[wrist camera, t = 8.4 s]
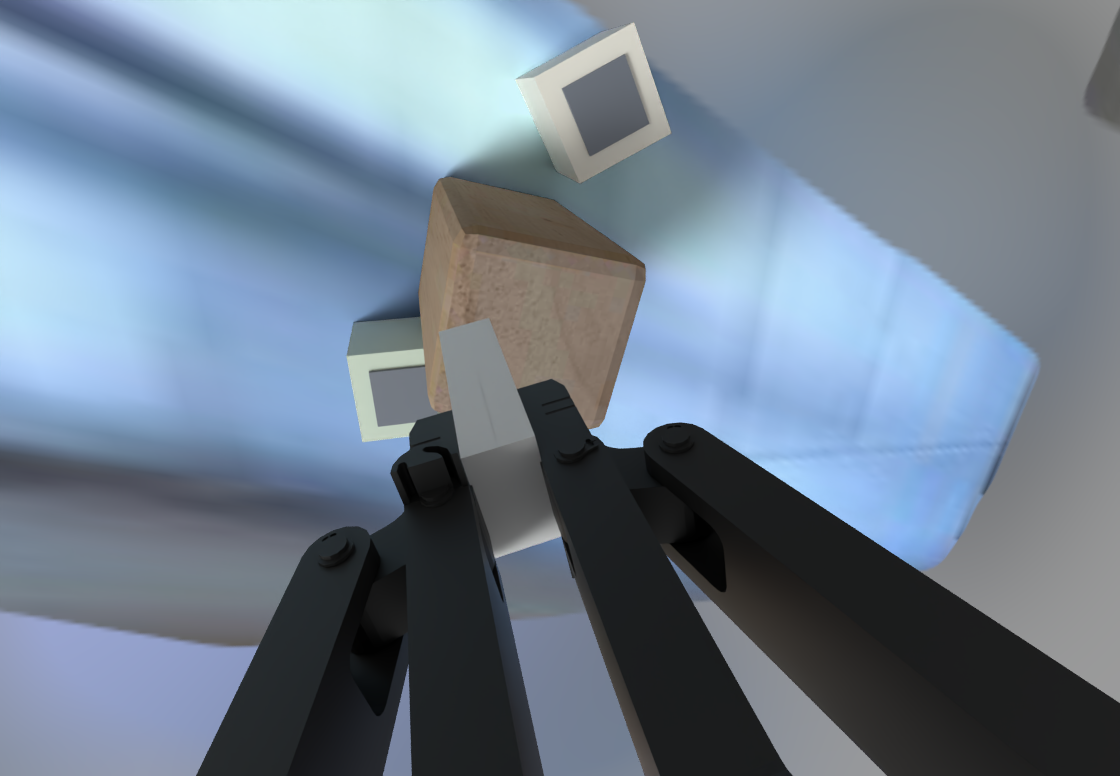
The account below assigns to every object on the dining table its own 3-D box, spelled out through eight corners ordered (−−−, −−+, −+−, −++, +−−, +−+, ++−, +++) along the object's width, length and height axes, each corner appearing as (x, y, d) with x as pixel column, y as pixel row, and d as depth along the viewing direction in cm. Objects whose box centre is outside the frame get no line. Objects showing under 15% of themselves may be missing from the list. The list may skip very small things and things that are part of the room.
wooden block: (562, 200, 47) (658, 264, 30) (535, 319, 51) (606, 437, 33) (435, 172, 44) (458, 224, 26) (416, 300, 48) (425, 420, 30)
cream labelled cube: (514, 79, 43) (535, 77, 36) (600, 32, 43) (635, 21, 36) (556, 171, 46) (581, 184, 40) (635, 127, 46) (673, 133, 40)
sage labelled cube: (353, 322, 47) (346, 357, 41) (442, 314, 49) (448, 347, 42) (367, 400, 51) (362, 444, 44) (450, 390, 52) (457, 432, 46)
